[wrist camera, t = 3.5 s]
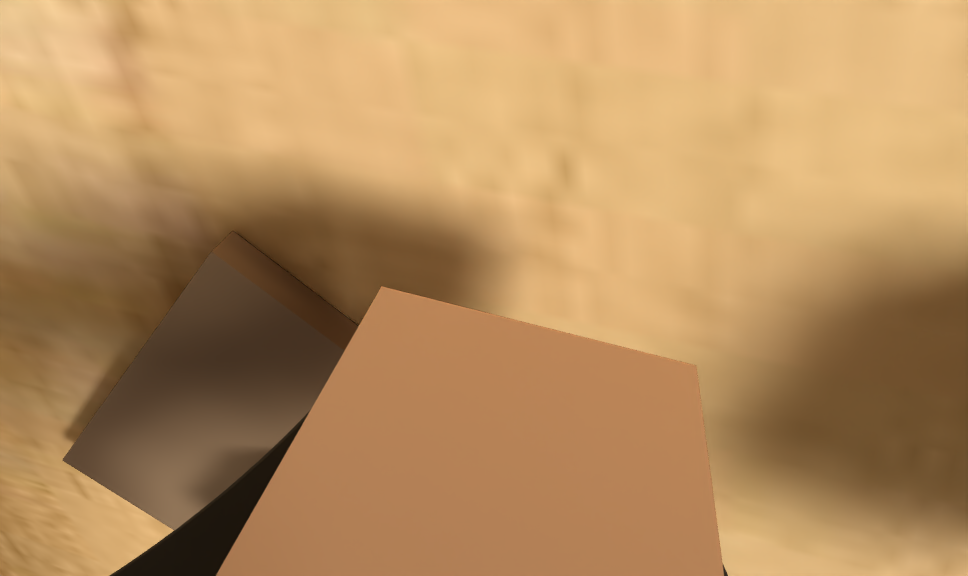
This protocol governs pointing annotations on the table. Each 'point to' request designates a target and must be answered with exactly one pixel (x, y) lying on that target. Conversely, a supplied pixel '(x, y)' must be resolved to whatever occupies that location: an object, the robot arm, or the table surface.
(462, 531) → the duct sleeve
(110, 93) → the table surface
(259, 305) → the duct board
